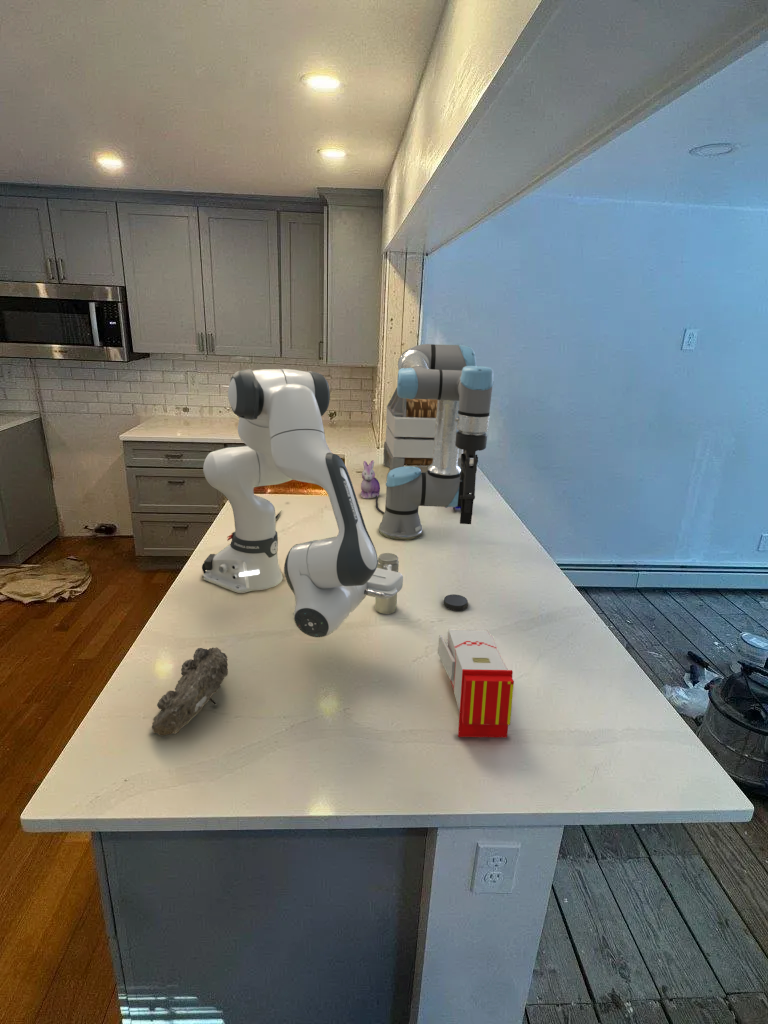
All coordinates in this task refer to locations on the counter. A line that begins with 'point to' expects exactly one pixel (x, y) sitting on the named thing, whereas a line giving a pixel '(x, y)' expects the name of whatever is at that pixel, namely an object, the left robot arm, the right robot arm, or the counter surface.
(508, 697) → the toy
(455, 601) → the lid
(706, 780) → the counter surface
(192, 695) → the fossil
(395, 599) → the jar
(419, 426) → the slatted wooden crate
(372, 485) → the figurine
